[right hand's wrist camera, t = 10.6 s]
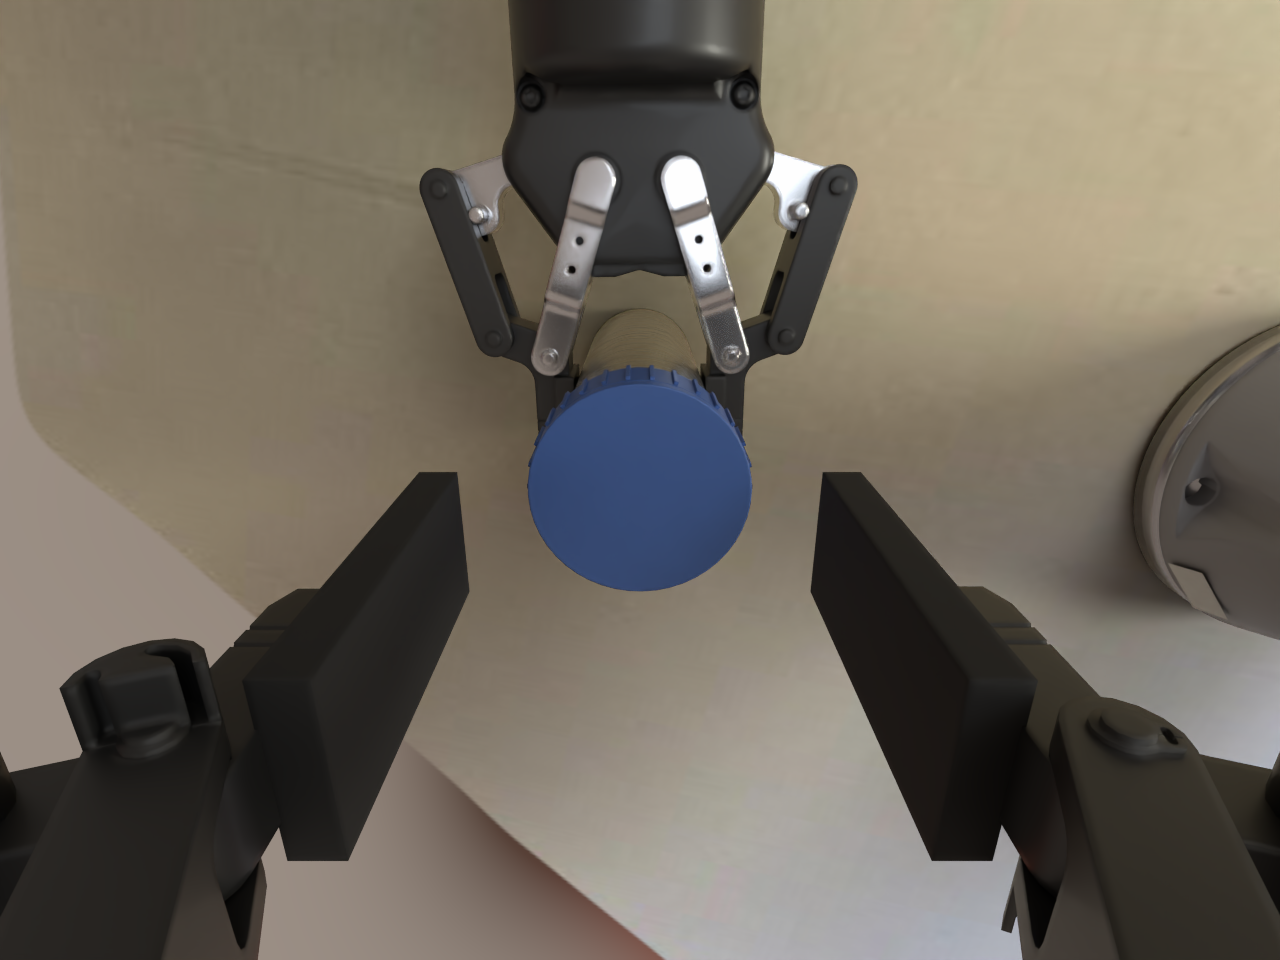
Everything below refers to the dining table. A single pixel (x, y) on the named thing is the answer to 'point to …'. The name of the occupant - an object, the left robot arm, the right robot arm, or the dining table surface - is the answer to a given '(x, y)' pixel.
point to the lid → (639, 479)
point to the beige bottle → (640, 346)
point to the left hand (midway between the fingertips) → (641, 466)
